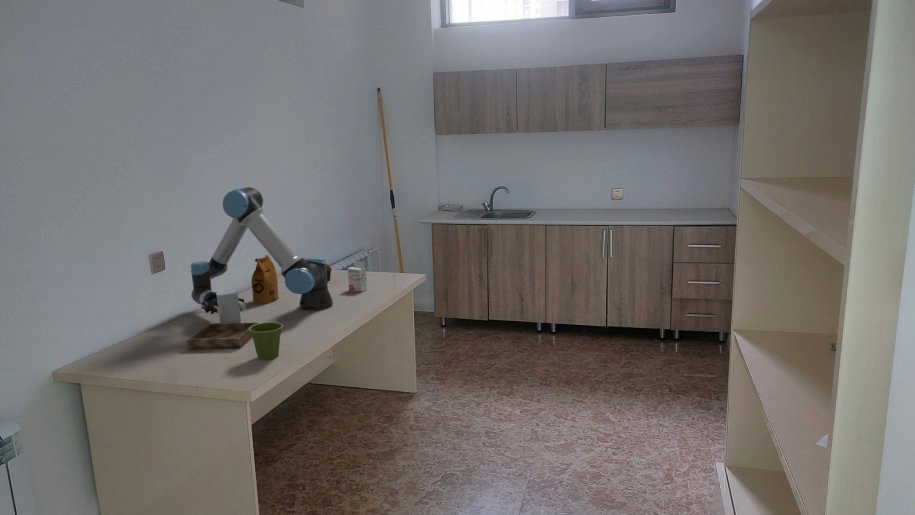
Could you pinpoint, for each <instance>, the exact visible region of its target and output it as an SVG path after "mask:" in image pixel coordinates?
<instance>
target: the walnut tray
mask: <svg viewBox="0 0 915 515" xmlns="http://www.w3.org/2000/svg"><path fill="white" fill-rule="evenodd" d="M256 324H259V322H241V323H220V322H219V323H217V322H216V323H208V324H207V325H205V326H204V327H203V328H202V329H200V330H199V331H197V332H196V333H194V334H193V335H191V336H190V337H189V338H187V339H186V345H187V350H189V351H194V350H195V351H196V350H240V349H242V348H243V347H244V346H245V345H246V344H248V343H249V342H250V341H251V340H253V337H252V335H251V332H250V331H249V330H248V329H249V327H251V326H253V325H256Z"/></svg>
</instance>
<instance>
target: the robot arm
mask: <svg viewBox="0 0 915 515" xmlns="http://www.w3.org/2000/svg"><path fill="white" fill-rule="evenodd" d="M263 204H264V197H263V196H262V194H261V192H260V191H259V190H258V189H256V188H254V187H249V186H248V187H243V188H237V189H236V188H235V189H233V190H231V191H228V192H227V193H226V194H225V195H224V197H223V199H222V208H223V211H224V213H225V214H226V215H227V216H228V217H231V218H232V219H231V222H230V224H229V225H228V227H227V229H226V231H225V233H224V235H223V236H222V238H221V240H220V242H219V243H218V245H217V247H216V249H215V250H214V253H213V254H212V255H211V257H210V260H209V261H205V260H202V261H201V260H200V261H199V260H198V261H194V262H192V263H191V265H190V273H191V278H192V279H191V280H192V291H191V294H190V296H191V298H192V300H193V301H194V302H195V303H197V304H199V305H201V309H202V310H204V312H205V313H206V314H208V313H210V314H211V315H215V314H217V315H218V316H219V315H222V308H220V307H218V304H217V296H216V293H218V292H217V291H214V290H212V280H213V279H215V278H217V277H219V276H222V275H224V274H225V273H226V272H227V271H228V264H229V262H230V259H231V258H232V257H233V254H234V253H235V251H236V249H237V248H238V246H239V245H240V242H241V240H242V239H243V237H244V236H245V234H246V231H247V230H250V232H251V234H253V236H254V237H255V238H256V239H257V240H258V242H260V244H261V245H262V247H263V248H264V249H265V251H266V252H267V253H268V255H270V257H271V258H272V259H273V260H274V261H275V263H276V264H277V265H278V267H279V268H281V270H280V273H281V275H282V277H283V278H284V284H285V287H286V289H287V290H288V291H290V292H291V293H293V294H296V295H300V300H299V309H300V310H303V311H319V310H320V309H321V310H326V309H329V308H331V307H333V305H334V304H333V303H334V302H333V299H332V296H331V294H330V291H329V288H328V287H329V286H328V282H327V271H326V264H327V262H326V258H324V257H302V256H297V254H296V253H295V252H294V250H293V249H292V248H291V246H290V245H289V244H288V243H287V242H286V241H285V239H284V238H283V237H282V236H281V235H280V234H279V232H278V231H277V229H276V228H275V227H274V226H273V224H271V222H270V221H269V219H268V218H267V217H266V216H265V215H264V214H263V213H264V212H263V210H264V208H263ZM238 301H239V309H240V310H243V311H245V310H246V303H245V299H244V298H240V297H238ZM328 307H329V308H328ZM325 308H326V309H325Z"/></svg>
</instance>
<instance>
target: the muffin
mask: <svg viewBox="0 0 915 515" xmlns="http://www.w3.org/2000/svg"><path fill="white" fill-rule="evenodd" d="M326 271H327V283H329V282H328V281H330V282H331V278H332V277H331V274H332V267H331V266H330V265H329V264H327V263H326Z"/></svg>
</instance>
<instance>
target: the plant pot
mask: <svg viewBox="0 0 915 515" xmlns="http://www.w3.org/2000/svg"><path fill="white" fill-rule="evenodd" d="M283 327H284V325H283V323H280V322H276V321H272V322H271V321H270V322H269V321H268V322H267V321H266V322H262V323H258V324H256V325H253V326H251V327H249V329H248V330H249V331H250V332H251V335H252V337H253V338H252V340H253V345H254V348H255V352H256V355H257V356H256V357H257V358H258V359H259V360H267V361H269V360H273V359H276V358H277V357H278V356H279V355H280V354H279V353H280V345H281V344H280V342H281V335H282V328H283Z"/></svg>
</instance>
